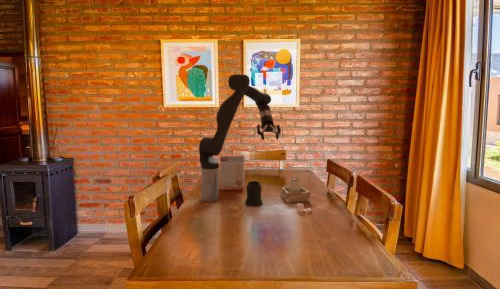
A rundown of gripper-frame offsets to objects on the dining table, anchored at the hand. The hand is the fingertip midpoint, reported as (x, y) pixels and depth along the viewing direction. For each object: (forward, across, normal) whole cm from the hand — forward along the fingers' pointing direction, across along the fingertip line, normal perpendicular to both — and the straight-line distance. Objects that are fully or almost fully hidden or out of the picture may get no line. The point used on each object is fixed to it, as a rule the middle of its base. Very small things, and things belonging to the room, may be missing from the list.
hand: (270, 138), depth 191 cm
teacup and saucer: (+55, +6, -10) cm, 56 cm away
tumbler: (+38, +8, +4) cm, 39 cm away
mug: (+40, -14, +3) cm, 43 cm away
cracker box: (+20, -22, +24) cm, 38 cm away
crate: (+38, +8, +5) cm, 40 cm away
